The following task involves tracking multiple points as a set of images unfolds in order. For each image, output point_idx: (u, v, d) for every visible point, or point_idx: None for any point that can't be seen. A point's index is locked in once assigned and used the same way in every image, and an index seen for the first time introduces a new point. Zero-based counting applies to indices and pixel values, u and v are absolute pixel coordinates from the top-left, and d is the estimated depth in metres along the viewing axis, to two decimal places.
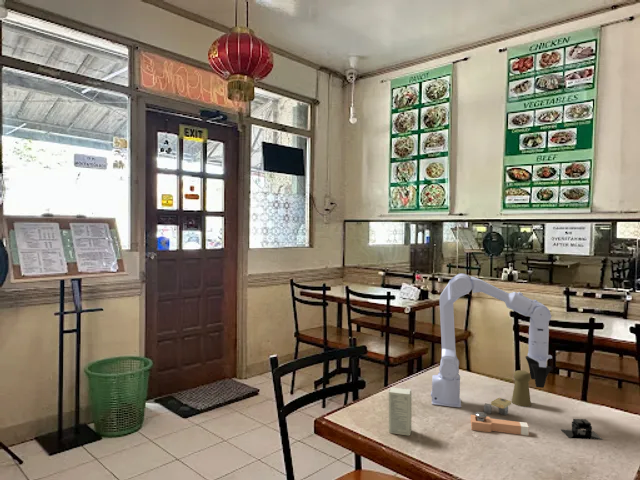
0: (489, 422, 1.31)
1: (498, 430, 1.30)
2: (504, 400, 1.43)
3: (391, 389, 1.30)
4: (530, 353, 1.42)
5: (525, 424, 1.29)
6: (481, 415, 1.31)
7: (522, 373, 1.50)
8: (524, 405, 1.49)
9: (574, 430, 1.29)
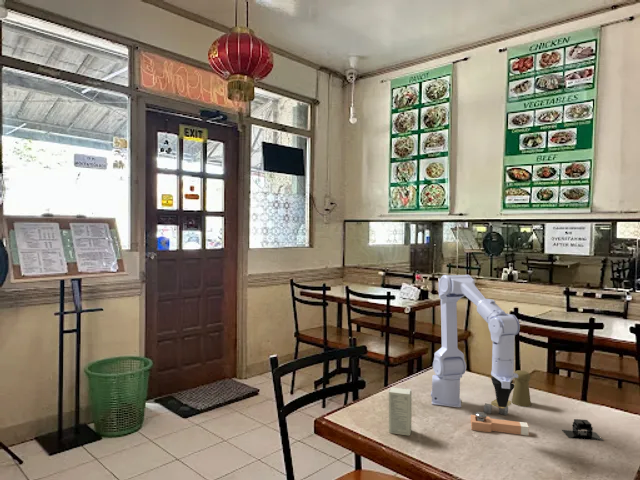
0: (489, 422, 1.31)
1: (498, 430, 1.30)
2: None
3: (391, 389, 1.30)
4: (493, 371, 1.25)
5: (525, 424, 1.29)
6: (481, 415, 1.31)
7: (522, 373, 1.50)
8: (524, 405, 1.49)
9: (575, 430, 1.29)
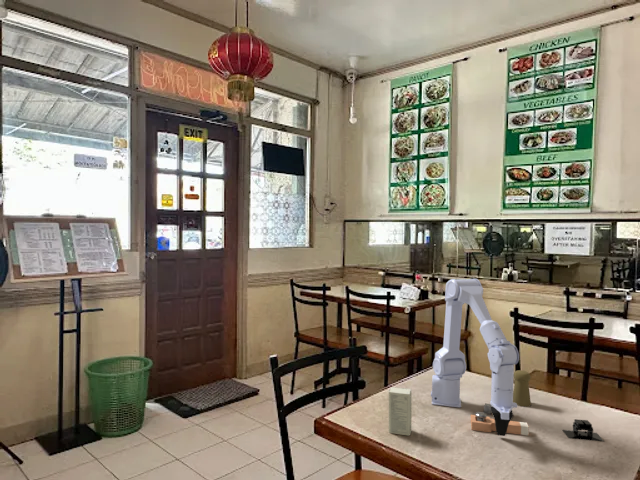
0: (489, 422, 1.31)
1: None
2: None
3: (391, 389, 1.30)
4: (493, 401, 1.25)
5: (525, 424, 1.29)
6: (481, 415, 1.31)
7: (522, 373, 1.50)
8: (524, 405, 1.49)
9: (575, 430, 1.28)
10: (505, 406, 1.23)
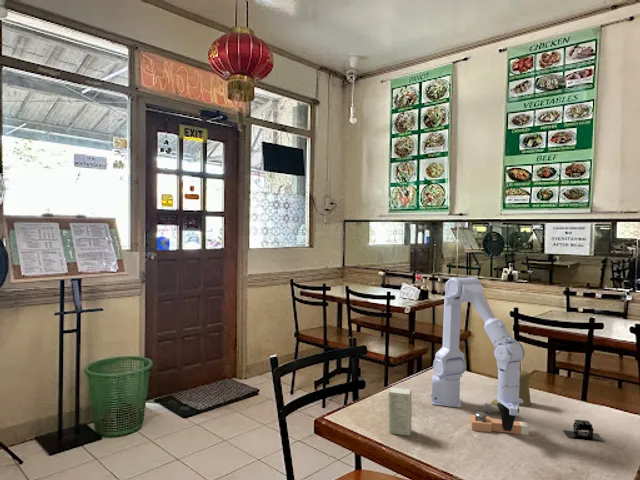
0: (489, 422, 1.31)
1: (498, 430, 1.30)
2: None
3: (391, 389, 1.30)
4: (499, 397, 1.28)
5: (525, 424, 1.30)
6: (481, 415, 1.31)
7: (522, 373, 1.50)
8: (524, 405, 1.49)
9: (575, 430, 1.28)
10: (512, 402, 1.26)
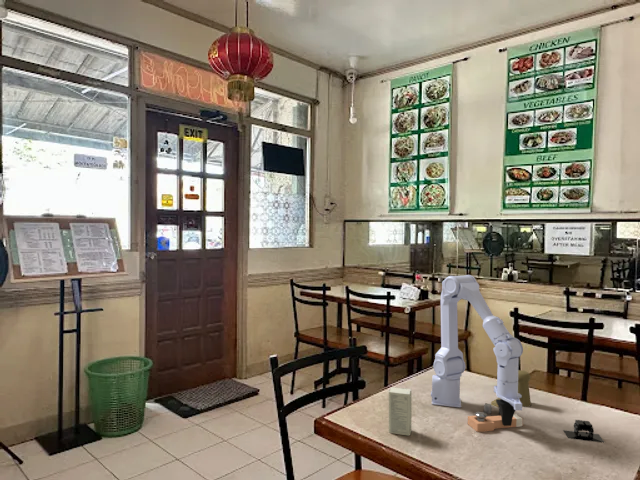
0: (490, 421, 1.32)
1: (498, 427, 1.32)
2: None
3: (391, 389, 1.30)
4: (500, 394, 1.30)
5: (517, 416, 1.35)
6: (481, 415, 1.31)
7: (522, 373, 1.50)
8: (524, 405, 1.49)
9: (575, 431, 1.28)
10: (513, 397, 1.29)
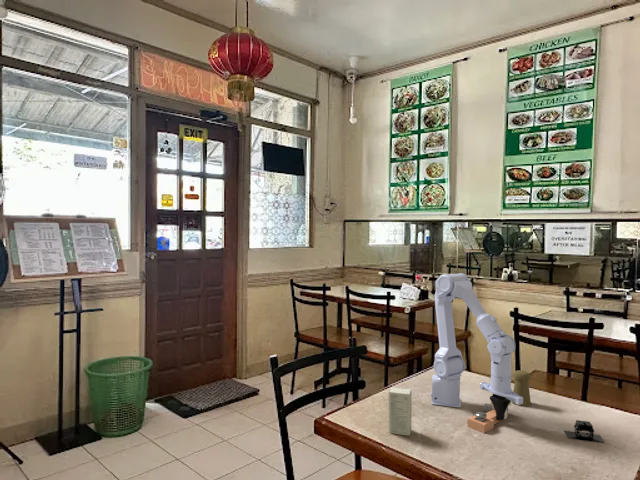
0: (489, 419, 1.33)
1: (493, 423, 1.35)
2: None
3: (391, 389, 1.30)
4: (498, 390, 1.33)
5: None
6: (481, 415, 1.31)
7: (522, 373, 1.50)
8: (524, 405, 1.49)
9: (576, 431, 1.28)
10: (509, 392, 1.33)
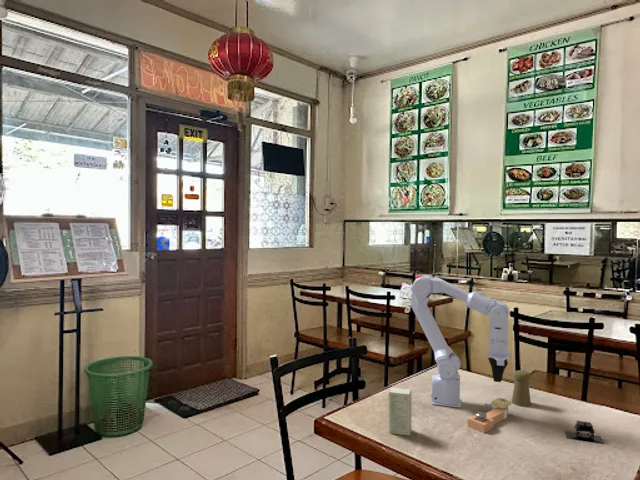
0: (489, 419, 1.33)
1: (493, 423, 1.35)
2: (504, 400, 1.43)
3: (391, 389, 1.30)
4: (490, 351, 1.44)
5: (501, 408, 1.41)
6: (481, 415, 1.31)
7: (522, 373, 1.50)
8: (524, 405, 1.49)
9: (576, 431, 1.28)
10: (501, 355, 1.41)
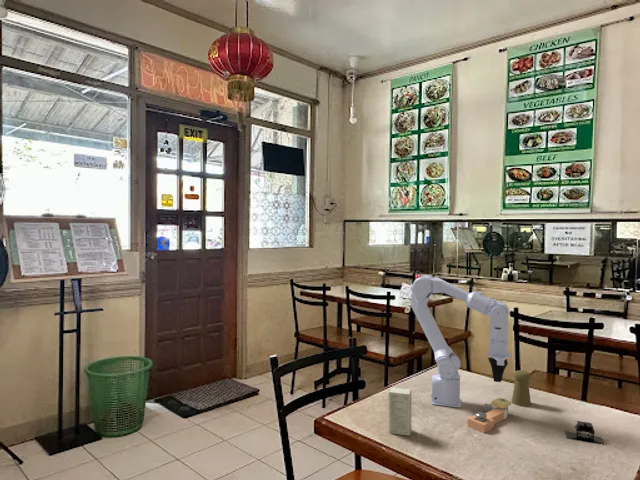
0: (489, 419, 1.33)
1: (493, 423, 1.35)
2: (504, 400, 1.43)
3: (391, 389, 1.30)
4: (490, 351, 1.44)
5: (501, 408, 1.41)
6: (481, 415, 1.31)
7: (522, 373, 1.50)
8: (524, 405, 1.49)
9: (576, 432, 1.28)
10: (501, 355, 1.41)
